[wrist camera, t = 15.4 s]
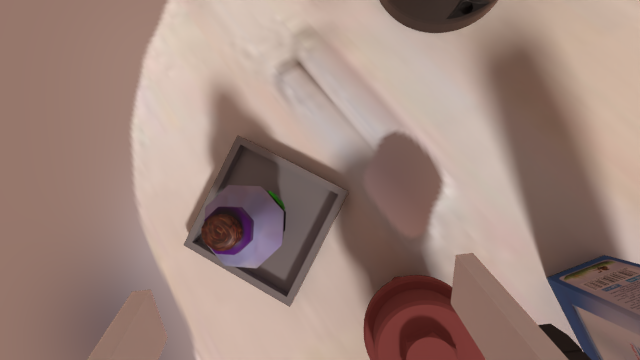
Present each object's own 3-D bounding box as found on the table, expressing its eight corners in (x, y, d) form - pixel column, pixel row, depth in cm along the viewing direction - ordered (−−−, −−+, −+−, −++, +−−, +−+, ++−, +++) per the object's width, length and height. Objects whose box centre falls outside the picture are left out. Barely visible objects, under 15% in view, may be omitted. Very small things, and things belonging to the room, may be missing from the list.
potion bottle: (311, 202, 37) (286, 207, 25) (281, 268, 37) (242, 304, 25) (247, 172, 38) (195, 163, 26) (218, 236, 38) (154, 256, 27)
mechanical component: (387, 362, 36) (349, 280, 37) (471, 329, 35) (429, 245, 36) (399, 451, 23) (341, 324, 24) (529, 403, 22) (463, 272, 23)
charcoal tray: (243, 138, 39) (237, 135, 37) (348, 191, 37) (348, 191, 35) (191, 242, 39) (183, 245, 38) (293, 301, 37) (289, 306, 36)
